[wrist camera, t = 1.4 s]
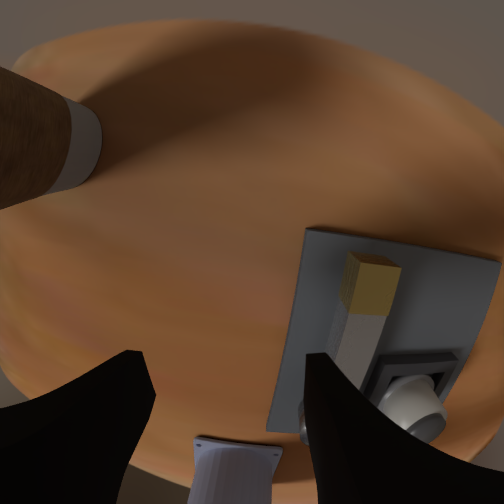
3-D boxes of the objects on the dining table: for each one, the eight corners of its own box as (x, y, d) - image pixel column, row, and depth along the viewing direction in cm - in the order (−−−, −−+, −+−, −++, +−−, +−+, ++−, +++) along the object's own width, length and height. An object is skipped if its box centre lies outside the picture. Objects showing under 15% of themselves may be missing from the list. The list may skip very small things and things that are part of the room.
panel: (427, 417, 19) (434, 430, 17) (266, 424, 19) (265, 442, 17) (495, 260, 15) (511, 267, 13) (305, 227, 15) (310, 234, 13)
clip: (336, 420, 16) (342, 446, 14) (293, 420, 16) (294, 447, 14) (393, 257, 13) (415, 271, 11) (337, 249, 13) (351, 263, 11)
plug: (413, 408, 17) (434, 449, 12) (365, 412, 18) (381, 460, 13) (437, 364, 16) (467, 404, 11) (387, 367, 16) (413, 415, 11)
